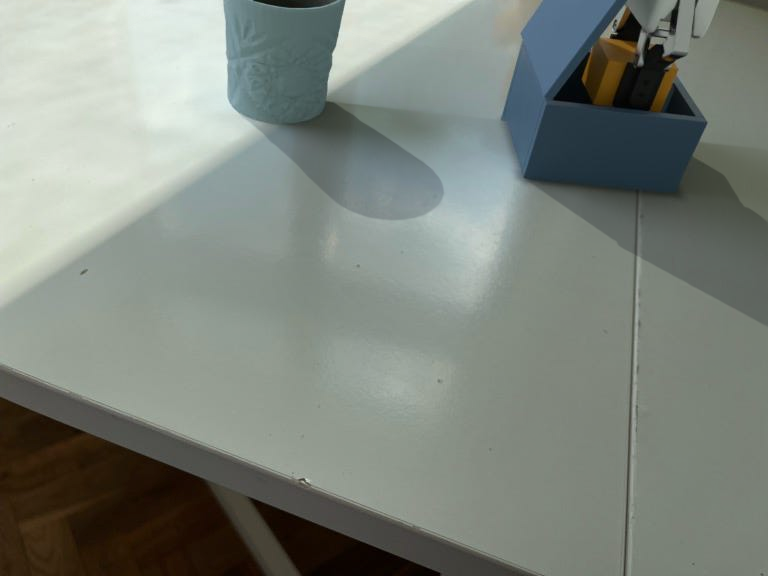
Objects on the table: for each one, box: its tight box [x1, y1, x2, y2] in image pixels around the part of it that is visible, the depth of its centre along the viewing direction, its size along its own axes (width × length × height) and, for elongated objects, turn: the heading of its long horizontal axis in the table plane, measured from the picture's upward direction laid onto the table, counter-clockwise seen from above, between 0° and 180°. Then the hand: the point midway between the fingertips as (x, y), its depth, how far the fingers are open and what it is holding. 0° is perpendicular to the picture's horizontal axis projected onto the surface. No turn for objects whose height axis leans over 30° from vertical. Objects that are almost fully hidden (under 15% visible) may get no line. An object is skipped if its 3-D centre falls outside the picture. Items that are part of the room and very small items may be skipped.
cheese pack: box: [582, 37, 679, 112], centre depth 67 cm, size 6×4×4 cm
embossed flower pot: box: [222, 0, 347, 125], centre depth 67 cm, size 10×10×12 cm
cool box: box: [500, 40, 709, 194], centre depth 70 cm, size 14×12×8 cm
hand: (622, 92), depth 68 cm, fingers closed on cheese pack, 4 cm apart
